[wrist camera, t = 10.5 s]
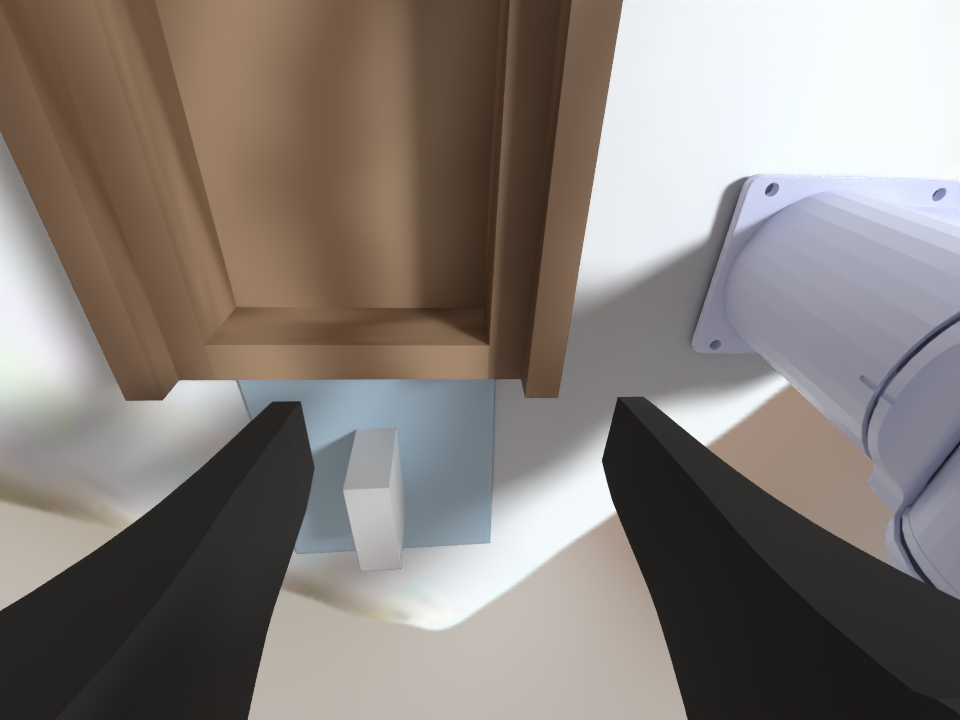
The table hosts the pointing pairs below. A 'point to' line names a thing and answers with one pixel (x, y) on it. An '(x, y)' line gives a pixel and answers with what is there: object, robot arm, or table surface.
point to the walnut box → (313, 180)
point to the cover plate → (425, 446)
